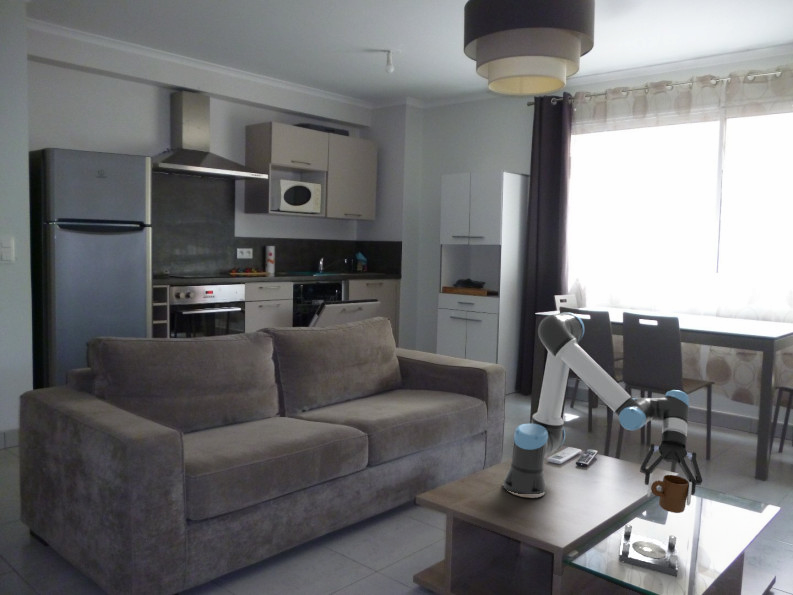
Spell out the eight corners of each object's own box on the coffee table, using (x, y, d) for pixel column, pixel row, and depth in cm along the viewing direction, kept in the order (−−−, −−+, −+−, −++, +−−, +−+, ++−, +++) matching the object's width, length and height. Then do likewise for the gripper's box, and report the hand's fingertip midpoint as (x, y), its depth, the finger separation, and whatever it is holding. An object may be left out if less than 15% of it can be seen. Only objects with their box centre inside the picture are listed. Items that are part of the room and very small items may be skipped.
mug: (655, 514, 200) (660, 485, 198) (641, 502, 207) (645, 474, 206) (689, 513, 203) (694, 485, 201) (674, 501, 210) (679, 474, 208)
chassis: (618, 560, 195) (621, 545, 194) (621, 537, 209) (624, 522, 209) (676, 576, 189) (679, 560, 188) (675, 551, 204) (678, 536, 203)
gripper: (710, 447, 212) (707, 512, 200) (635, 432, 220) (627, 494, 208) (715, 437, 207) (712, 503, 195) (637, 422, 214) (629, 485, 202)
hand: (668, 499), depth 201 cm, fingers closed on mug, 11 cm apart
